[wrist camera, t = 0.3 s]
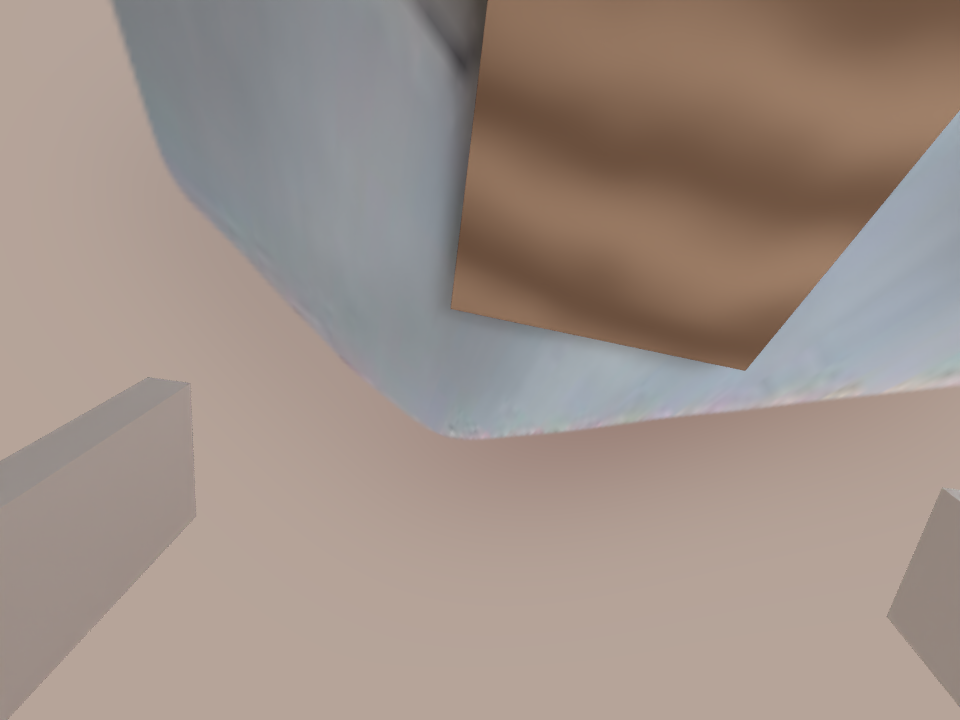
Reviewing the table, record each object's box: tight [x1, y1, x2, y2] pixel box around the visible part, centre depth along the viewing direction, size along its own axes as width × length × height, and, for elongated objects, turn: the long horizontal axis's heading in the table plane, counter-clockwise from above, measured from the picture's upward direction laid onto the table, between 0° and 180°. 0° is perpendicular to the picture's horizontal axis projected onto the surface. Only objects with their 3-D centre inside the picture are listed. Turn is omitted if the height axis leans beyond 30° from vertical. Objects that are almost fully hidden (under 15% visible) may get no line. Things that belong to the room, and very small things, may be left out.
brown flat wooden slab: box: [451, 0, 960, 371], centre depth 20 cm, size 20×14×2 cm
